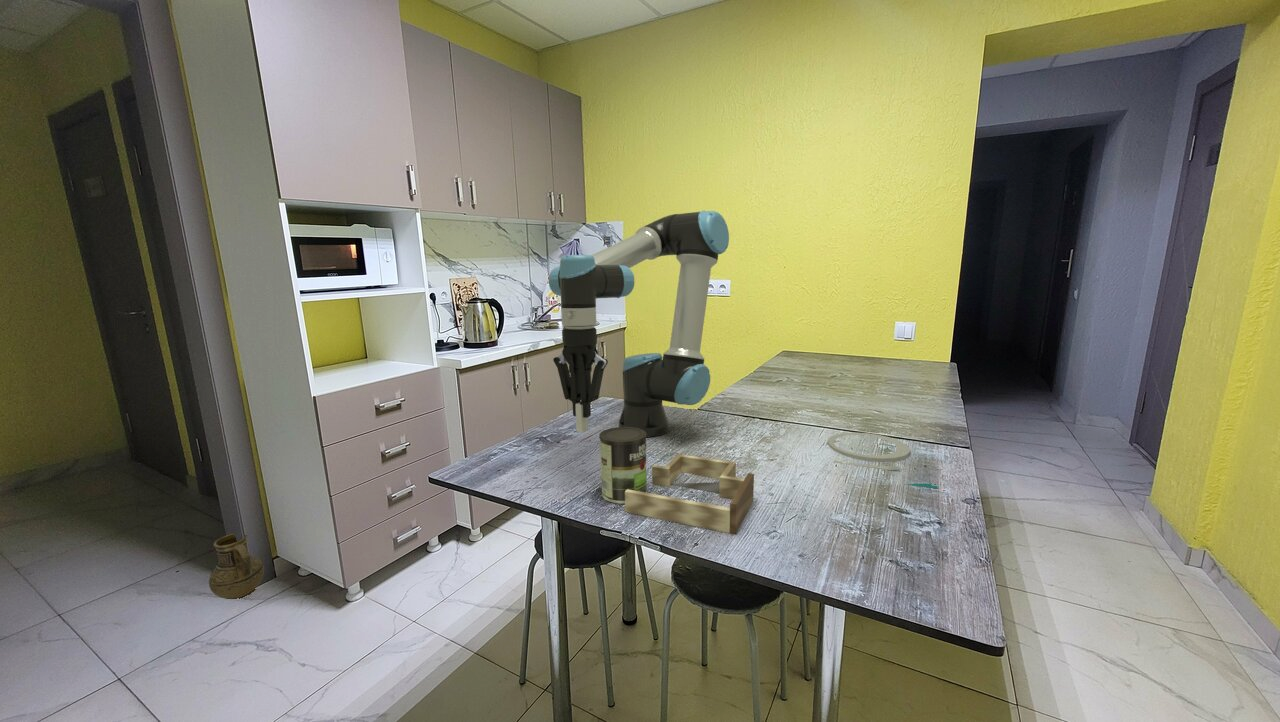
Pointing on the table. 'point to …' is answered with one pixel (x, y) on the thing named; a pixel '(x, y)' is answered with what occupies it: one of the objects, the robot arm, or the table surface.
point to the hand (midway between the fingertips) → (582, 430)
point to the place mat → (897, 455)
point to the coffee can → (622, 462)
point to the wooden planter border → (692, 510)
